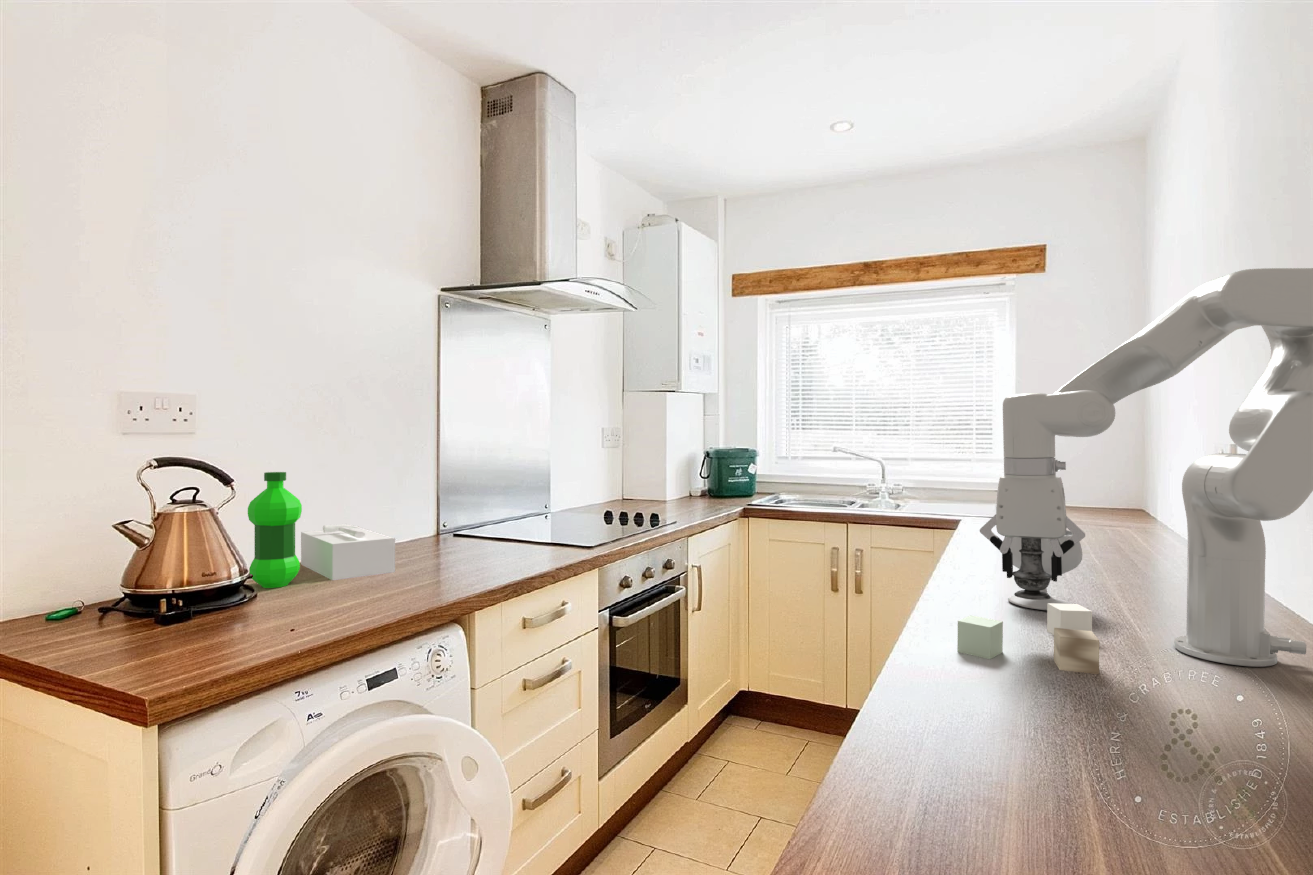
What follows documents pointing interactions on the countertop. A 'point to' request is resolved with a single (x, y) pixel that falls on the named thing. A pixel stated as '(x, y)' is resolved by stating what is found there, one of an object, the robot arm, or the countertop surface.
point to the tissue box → (347, 552)
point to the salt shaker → (1031, 571)
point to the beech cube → (1076, 650)
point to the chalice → (1046, 568)
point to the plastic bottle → (274, 533)
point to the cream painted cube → (1068, 617)
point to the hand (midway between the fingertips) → (1031, 577)
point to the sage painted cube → (980, 637)
